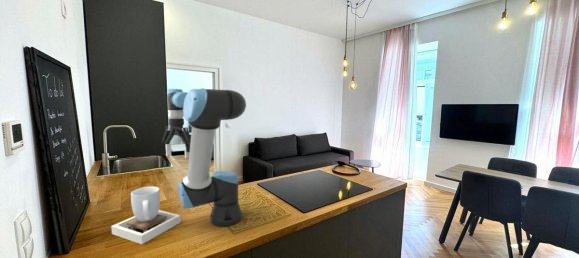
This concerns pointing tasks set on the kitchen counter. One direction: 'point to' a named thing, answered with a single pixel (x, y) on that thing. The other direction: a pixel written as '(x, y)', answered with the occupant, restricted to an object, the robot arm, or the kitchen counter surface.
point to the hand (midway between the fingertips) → (177, 156)
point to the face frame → (141, 238)
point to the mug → (145, 203)
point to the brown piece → (146, 223)
